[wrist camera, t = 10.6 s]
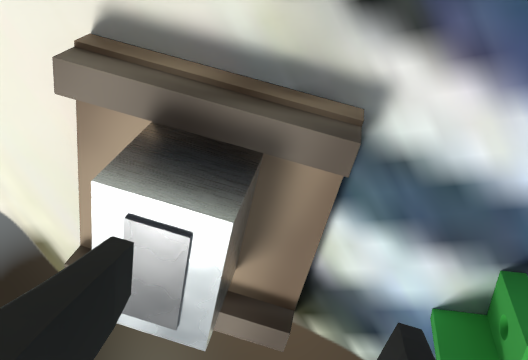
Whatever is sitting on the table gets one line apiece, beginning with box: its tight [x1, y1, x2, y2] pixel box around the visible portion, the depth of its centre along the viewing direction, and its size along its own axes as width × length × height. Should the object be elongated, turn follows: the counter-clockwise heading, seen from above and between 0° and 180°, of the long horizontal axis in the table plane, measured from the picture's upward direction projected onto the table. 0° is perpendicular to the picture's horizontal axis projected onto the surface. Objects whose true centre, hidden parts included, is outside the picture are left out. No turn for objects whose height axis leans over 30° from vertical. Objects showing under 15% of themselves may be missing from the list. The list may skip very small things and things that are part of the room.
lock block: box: [91, 122, 263, 351], centre depth 19 cm, size 5×7×5 cm
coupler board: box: [52, 34, 364, 352], centre depth 21 cm, size 12×13×3 cm
